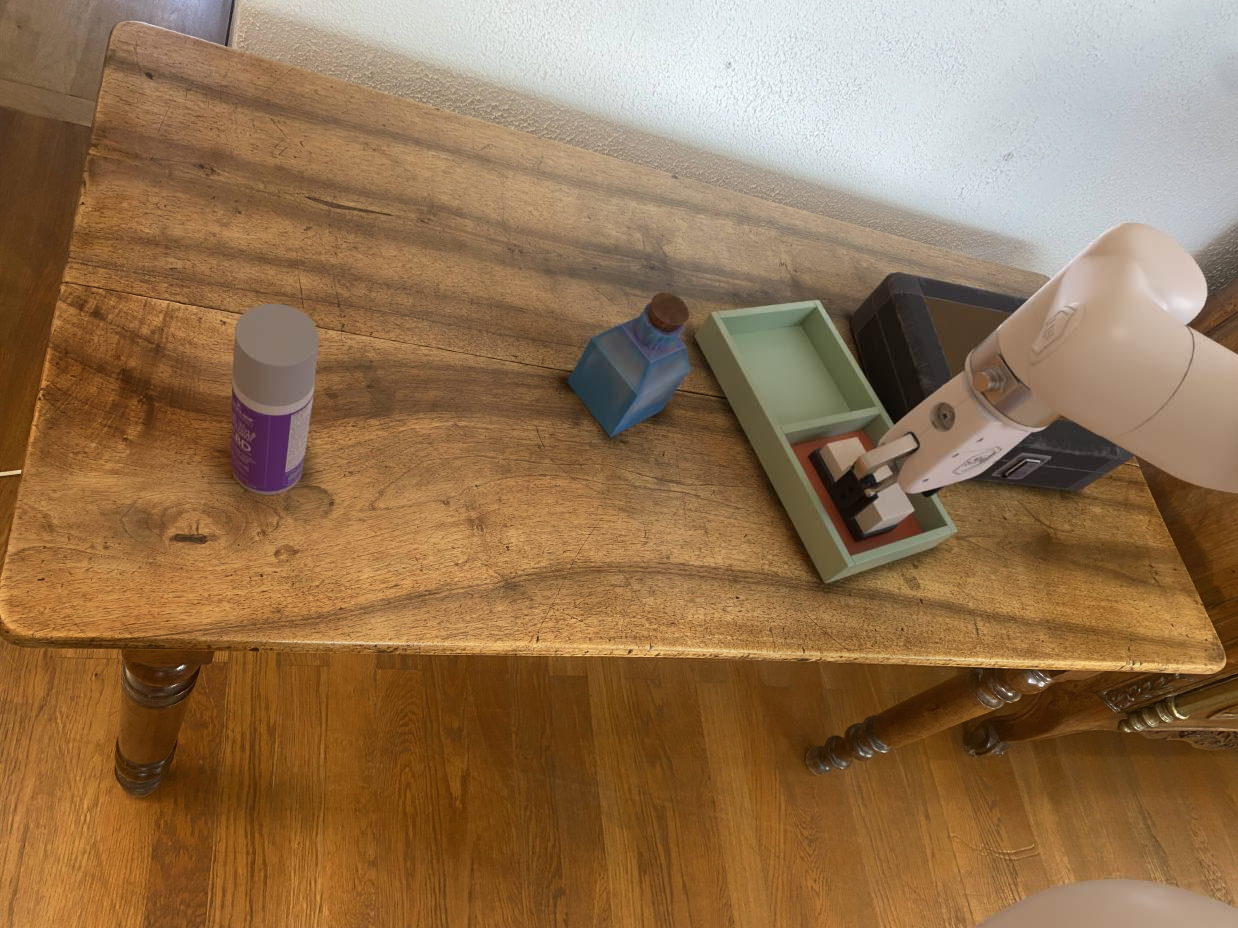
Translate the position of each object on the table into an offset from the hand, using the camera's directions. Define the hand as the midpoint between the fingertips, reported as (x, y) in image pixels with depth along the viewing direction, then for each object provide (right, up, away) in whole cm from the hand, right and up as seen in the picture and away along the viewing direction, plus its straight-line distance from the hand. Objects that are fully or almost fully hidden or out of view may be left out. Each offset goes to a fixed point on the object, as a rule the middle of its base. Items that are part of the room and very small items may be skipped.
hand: (879, 493), depth 75 cm
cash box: (+14, +9, +18) cm, 24 cm away
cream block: (-2, 0, +4) cm, 4 cm away
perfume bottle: (-23, +8, +1) cm, 24 cm away
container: (-47, +2, -14) cm, 49 cm away
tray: (-4, +5, +7) cm, 9 cm away
